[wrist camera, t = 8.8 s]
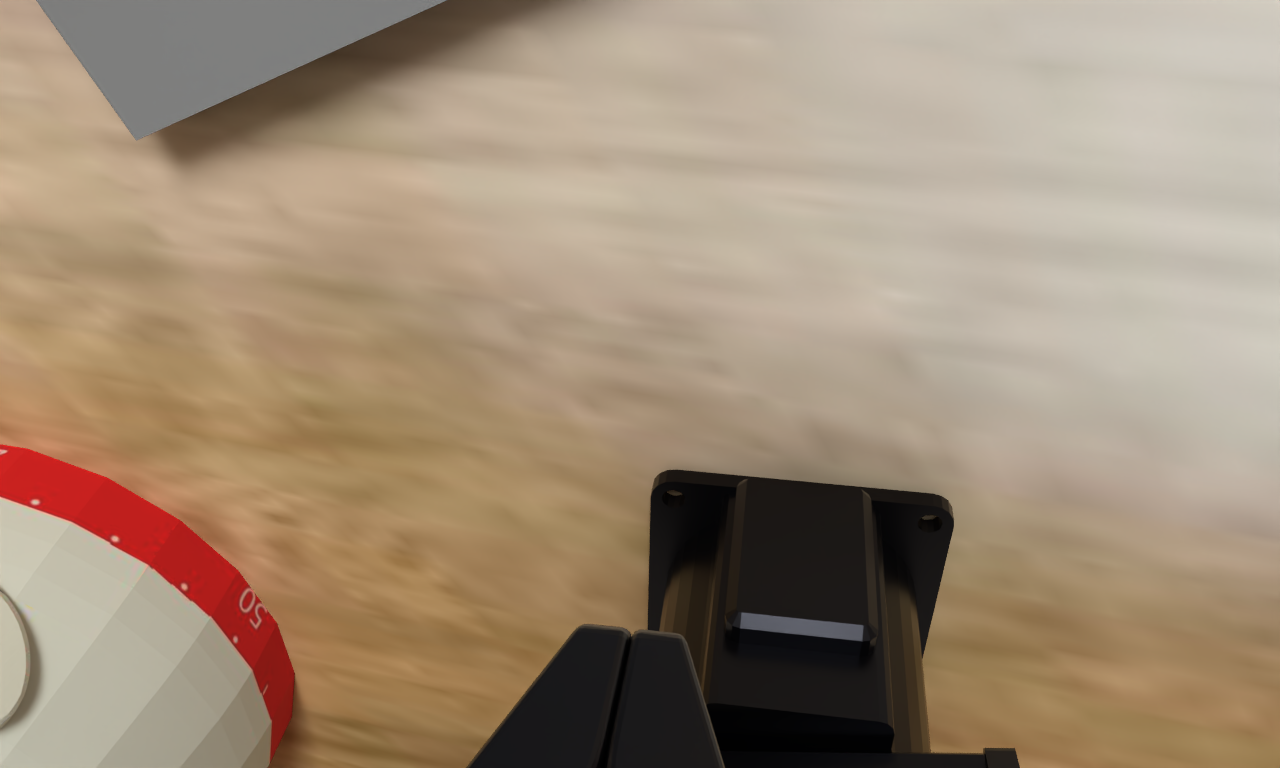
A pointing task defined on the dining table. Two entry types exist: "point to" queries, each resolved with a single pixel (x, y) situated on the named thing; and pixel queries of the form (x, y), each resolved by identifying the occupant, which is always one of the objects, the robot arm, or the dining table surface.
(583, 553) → the dining table surface
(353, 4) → the switch panel
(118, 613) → the kitchen timer
